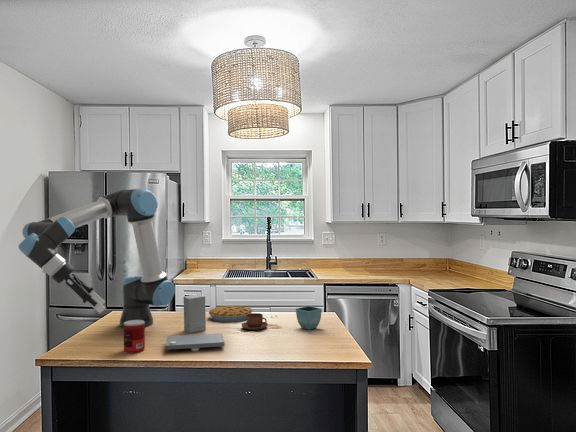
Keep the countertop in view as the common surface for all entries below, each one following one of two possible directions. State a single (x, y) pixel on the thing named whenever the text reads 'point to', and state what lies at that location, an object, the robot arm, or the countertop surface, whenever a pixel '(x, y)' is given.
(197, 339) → the plate
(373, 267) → the countertop surface
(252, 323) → the cup and saucer
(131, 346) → the canned food
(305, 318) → the flower pot
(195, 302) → the skincare box
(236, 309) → the pie
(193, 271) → the countertop surface
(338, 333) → the countertop surface
